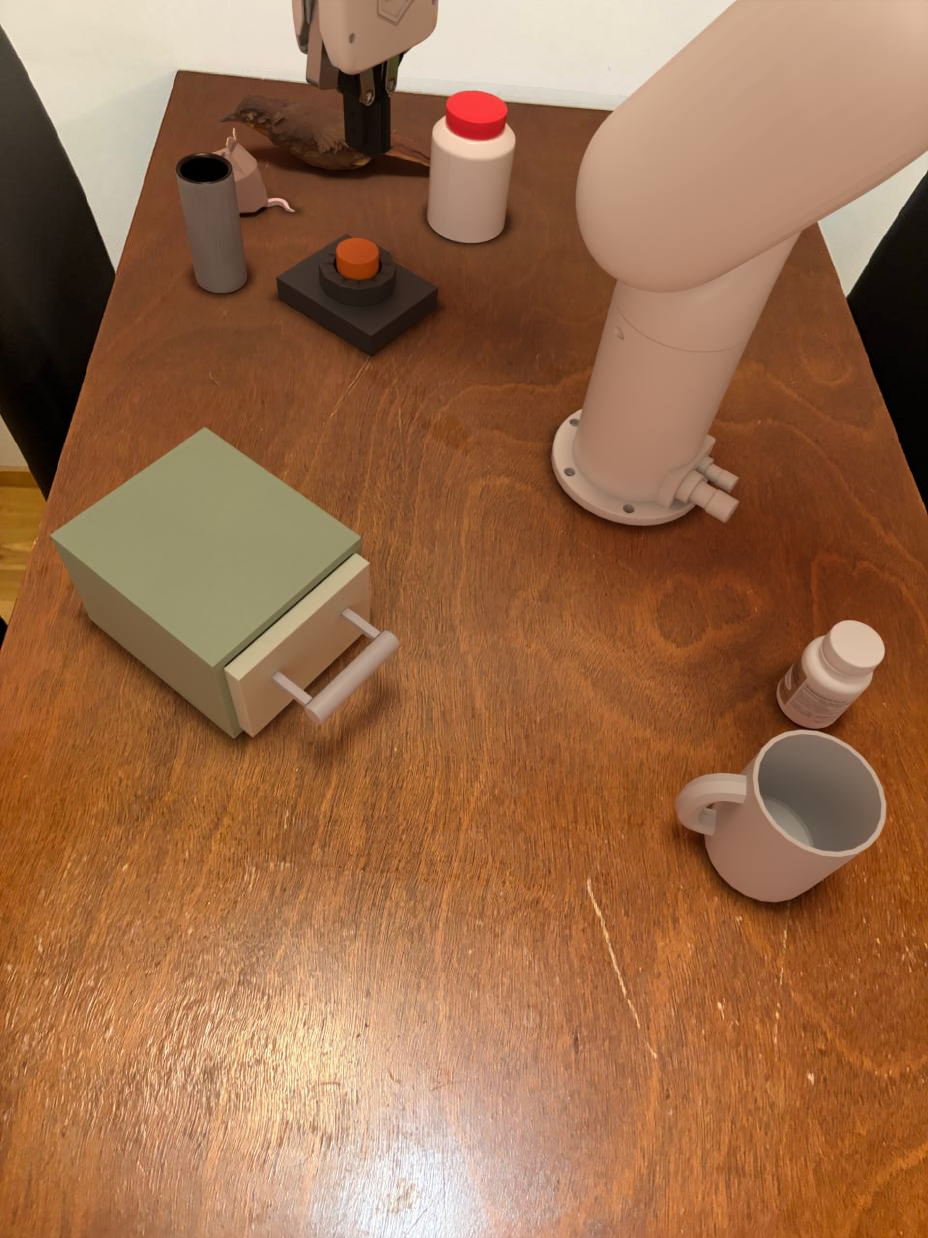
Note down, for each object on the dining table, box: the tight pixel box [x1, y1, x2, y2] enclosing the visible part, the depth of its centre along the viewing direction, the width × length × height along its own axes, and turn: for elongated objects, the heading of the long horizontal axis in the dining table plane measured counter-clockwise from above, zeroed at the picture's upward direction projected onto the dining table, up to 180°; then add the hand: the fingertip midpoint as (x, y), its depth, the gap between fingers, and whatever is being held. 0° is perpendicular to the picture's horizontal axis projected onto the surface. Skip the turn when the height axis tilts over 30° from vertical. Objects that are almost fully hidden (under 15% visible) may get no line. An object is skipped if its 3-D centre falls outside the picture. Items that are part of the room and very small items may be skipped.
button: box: [336, 237, 379, 280], centre depth 76 cm, size 4×4×2 cm
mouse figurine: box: [212, 127, 296, 215], centre depth 84 cm, size 5×8×7 cm, turn 80°
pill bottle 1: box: [426, 90, 517, 244], centre depth 84 cm, size 8×8×11 cm
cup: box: [674, 729, 887, 903], centre depth 51 cm, size 7×10×9 cm
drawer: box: [224, 553, 401, 738], centre depth 56 cm, size 17×11×7 cm, turn 52°
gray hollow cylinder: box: [174, 152, 248, 294], centre depth 76 cm, size 4×4×10 cm
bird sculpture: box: [216, 94, 431, 171], centre depth 90 cm, size 7×25×5 cm, turn 92°
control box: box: [275, 233, 439, 357], centre depth 78 cm, size 11×9×4 cm
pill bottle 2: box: [776, 619, 886, 729], centre depth 58 cm, size 4×4×8 cm
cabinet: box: [49, 426, 363, 740], centre depth 57 cm, size 14×12×9 cm
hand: (367, 147), depth 67 cm, fingers closed
